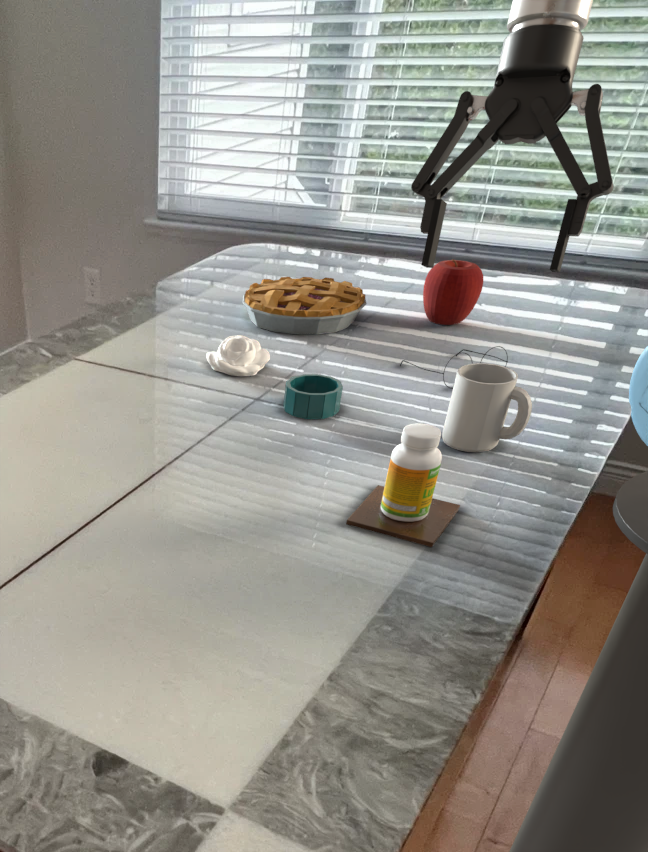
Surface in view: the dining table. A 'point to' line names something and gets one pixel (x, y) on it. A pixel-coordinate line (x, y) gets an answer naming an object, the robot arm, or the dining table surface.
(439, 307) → the apple
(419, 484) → the supplement bottle
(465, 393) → the cup
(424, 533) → the coaster
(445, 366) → the eyeglasses
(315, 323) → the pie
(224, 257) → the dining table surface
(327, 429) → the dining table surface
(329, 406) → the teal bowl
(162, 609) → the dining table surface
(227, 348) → the rose
